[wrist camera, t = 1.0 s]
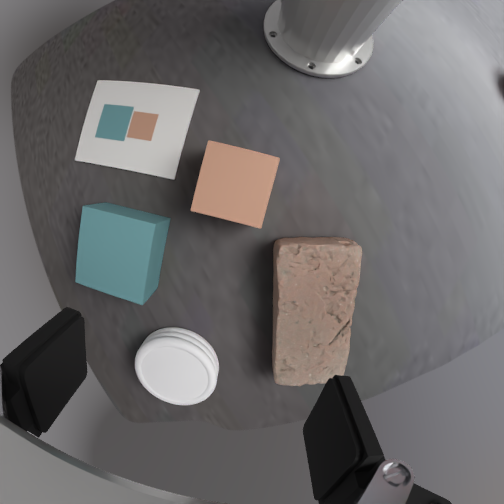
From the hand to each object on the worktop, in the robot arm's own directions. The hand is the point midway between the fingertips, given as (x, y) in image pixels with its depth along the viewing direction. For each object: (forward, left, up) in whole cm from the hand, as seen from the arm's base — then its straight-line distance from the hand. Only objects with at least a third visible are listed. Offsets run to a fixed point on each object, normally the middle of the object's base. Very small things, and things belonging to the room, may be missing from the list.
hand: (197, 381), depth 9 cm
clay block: (-7, -1, -21) cm, 23 cm away
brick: (+4, +10, -22) cm, 24 cm away
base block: (+2, -11, -21) cm, 24 cm away
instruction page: (-11, -14, -21) cm, 28 cm away
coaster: (+15, -3, -22) cm, 27 cm away
